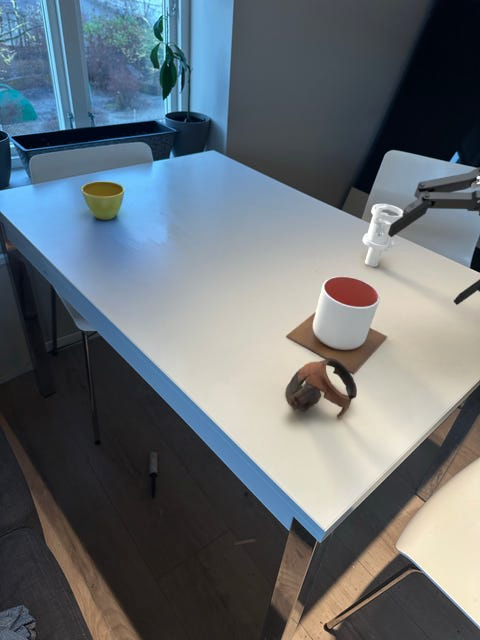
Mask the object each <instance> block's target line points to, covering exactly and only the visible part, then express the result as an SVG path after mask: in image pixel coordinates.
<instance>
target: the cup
mask: <svg viewBox="0 0 480 640" xmlns="http://www.w3.org/2000/svg"><path fill="white" fill-rule="evenodd" d="M320 290H321V291H320V294H319V298H318V302H317V306H316V311H315V312H316V314H315V318H314V321H313V331H314V333H315V335H316V337H317V338H318V339H319V340H320V341H321V342H322V343H324V344H326V345H327V346H330V347H332V348H335V349H340V350H350V349H355V348H357V347H359V346H361V345H362V344H363V343H364V341H365V340H366V337H367V334H368V332H369V329H370V328H371V325H372V323H373V320H374V317H375V315H376V311H377V309H378V306H379V304H380V300H381V298H380V297H381V296H380V293H379V292H378V290H377V289H376V288H375V287H374V286H372V285H371V284H370V283H368V282H366V281H364V280H363V279H359V278H355V277H351V276H344V275H343V276H342V275H341V276H333V277H329V278H328V279H326V280H325V281H324V282H323V283H322V287H321V289H320Z"/></svg>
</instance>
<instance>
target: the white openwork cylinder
mask: <svg viewBox="0 0 480 640" xmlns="http://www.w3.org/2000/svg"><path fill="white" fill-rule="evenodd" d="M384 210H385V211H390V212H393V213H395V214H397V215H389V213H387V212H383V211H384ZM403 211H404V209H401V208H400V207H398V206H396V205H394V204H393V205H392V204H389V203H388V204H387V203H376V204H374V205H372V207H371V212H370V213H371V214H372V218H371V220H370V224H369V226H368V229H367V230H368V231H367V232H366V233H365V234H364V235H363V237H362V242H363V244H364V245H365V246H367V247H368V250H367V255H366V258H365V261H364V263H365V265H367V266H368V267H371V268H375V267H377V266H378V265H379V262H380V259H381V256H382V253H383V251H390V250H392V249H393V248H394V245H395V240H394V239H395V235H394V236H393V237H390V236H389V235H388V232H389V229H390V226H391V224H392V223H394V222H395V221H397V220H398V219H400V218H401V217H403V215H402V214H403Z"/></svg>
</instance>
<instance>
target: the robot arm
mask: <svg viewBox="0 0 480 640" xmlns="http://www.w3.org/2000/svg"><path fill="white" fill-rule="evenodd" d="M476 188H480V166H479V167H477V168H475V169H473V170H471V171H469V172H466V173H461V174H456V175H455V174H454V175H450V176H445V177H444V176H443V177H440V178H434V179H433V178H432V179H429V180H424V181H420V182H418V184H417V186H416V189H415V191H414V193H413V194H414V197H415V198H417V199H415V200H414V201H411V203H410V204H408V205H406V206H405V208H404V209H403V214H402V215H403V217H401V218H400V219H398V220H397V221H395V222H394V223H392V224H391V226H390V229H389V232H388V235H389V236H390V237H393V236H394V237H395V235H397V234H399V233H400V232H401V231H403V230H404V229H406V228H407V227H409V226H410V225H411V224H413V223H415V222H416V221H418V220H419V219H420V218H422V217H423V216H425V215H426V214H427V211H428V210H429V209H430V210H431V209H433V210H434V209H435V210H436V209H438V210H439V209H443V210H467V211H468V212H478V216H479V217H480V190H475V189H476ZM468 189H472V190H474V191H472V192H459V191H464V190H468ZM476 292H479V293H480V278H479V279H477V280H476V281H475V282H474V283H472V284H471V285H469V286H468V287H467V288H466V289H464V290H462V291H461V292H460V293H459V294H458V295H457V296H456V297H455V298H454V299H453V301H452V302H453V303H454V304H455V305H456V306H459V305H460V304H461V303H463V301H465V300H466V299H468V298H469V297H471V296H472V295H474V294H475V293H476Z"/></svg>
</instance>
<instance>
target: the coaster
mask: <svg viewBox="0 0 480 640" xmlns="http://www.w3.org/2000/svg"><path fill="white" fill-rule="evenodd" d="M315 314H316V311H315V312H314V313H312V314H311V315H310V316H309V317H308V318H306V319H305V320H304V321H303V322H301V323H300V324H298V326H296V327H295V328H293V329H292V330H291V331H289V333H287V334H286V335H285V338H287V339H289V340H290V341H292V342H294V343H296V344H298V345H300V346H301V347H303V348H305V349H307V350H308V351H310V352H312V353H314V354H316V355H318V356H320V357H321V358H323V359H324V360H325V359H326V358H333V359H336V360H338V361H339V362H340V363H342V364H343V365H344V366H345V367H346V368H347V369H348V371H349V372H350V374H351V375H355V374H356V373H357V371H358V370H359V369H360V368H361V367H362V366H363V365H364V364H365V363H366V361H368V359H369V358H370V357H371V356H372V355H373V353H375V351H376V350H377V349H378V348H379V347H380V346H381V345H382V344H383V343H384V342H385V341H386V339H387V338H388V336H387V335H386V334H383V333H382V332H380V331H378V330H375V329H373V328H372V327H370V329H369V332H368V334H367V337H366V340H365V341H364V343H363V344H362V345H361V346H359V347H357V348H355V349H350V350H340V349H335V348H332V347H330V346H327V345H326V344H324V343H322V342H321V341H320V340H319V339H318V338H317V337H316V335H315V333H314V331H313V321H314V318H315Z"/></svg>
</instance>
